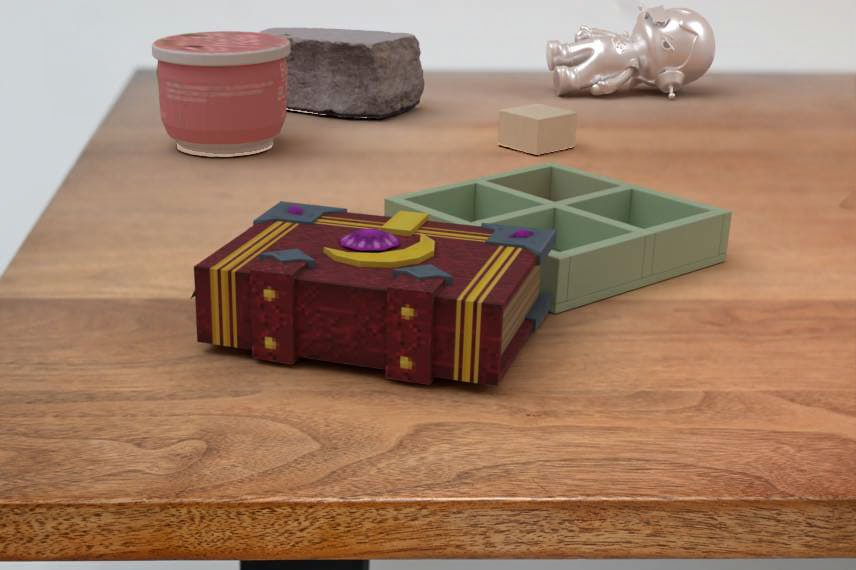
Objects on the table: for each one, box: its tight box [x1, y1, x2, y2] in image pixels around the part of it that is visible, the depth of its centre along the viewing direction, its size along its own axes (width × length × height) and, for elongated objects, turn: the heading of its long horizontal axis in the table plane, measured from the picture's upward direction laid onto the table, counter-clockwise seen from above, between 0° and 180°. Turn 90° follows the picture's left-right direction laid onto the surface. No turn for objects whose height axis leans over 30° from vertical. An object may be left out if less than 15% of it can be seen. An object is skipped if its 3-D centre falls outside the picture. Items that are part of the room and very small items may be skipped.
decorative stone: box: [258, 27, 425, 119], centre depth 109 cm, size 15×7×10 cm
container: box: [151, 30, 291, 154], centre depth 97 cm, size 10×10×8 cm
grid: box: [383, 161, 733, 315], centre depth 73 cm, size 14×14×3 cm
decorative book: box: [190, 200, 557, 387], centre depth 62 cm, size 11×16×5 cm
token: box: [497, 102, 578, 155], centre depth 97 cm, size 4×4×3 cm
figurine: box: [545, 3, 716, 100], centre depth 115 cm, size 11×7×15 cm
